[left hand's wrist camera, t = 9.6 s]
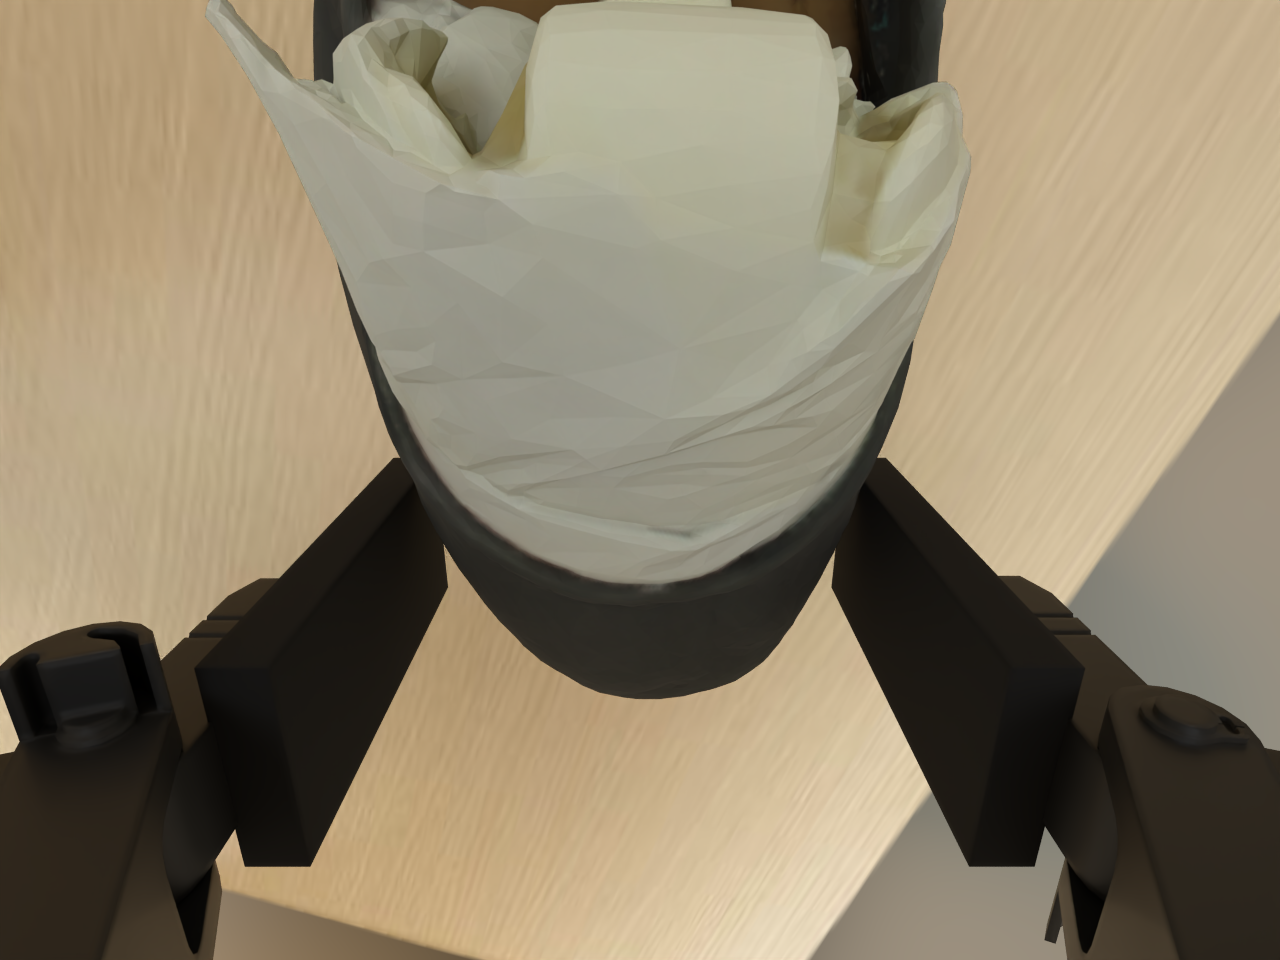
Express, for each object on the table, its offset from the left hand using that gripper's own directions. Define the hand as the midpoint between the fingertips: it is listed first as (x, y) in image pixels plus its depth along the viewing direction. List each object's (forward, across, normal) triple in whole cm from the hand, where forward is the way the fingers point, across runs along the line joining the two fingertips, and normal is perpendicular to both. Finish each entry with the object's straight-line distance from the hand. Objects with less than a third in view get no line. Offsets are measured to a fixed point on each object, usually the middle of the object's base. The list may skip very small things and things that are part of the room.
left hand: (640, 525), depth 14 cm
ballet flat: (+1, 0, -9) cm, 9 cm away
